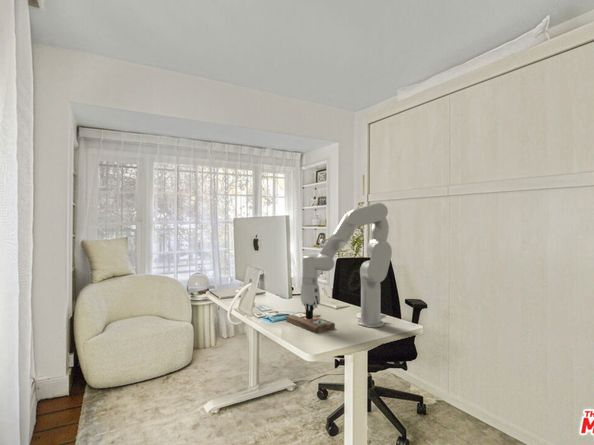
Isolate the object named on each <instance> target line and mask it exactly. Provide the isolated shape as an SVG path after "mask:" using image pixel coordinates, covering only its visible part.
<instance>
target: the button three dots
mask: <svg viewBox="0 0 594 445" xmlns="http://www.w3.org/2000/svg"><path fill="white" fill-rule="evenodd" d="M312 323H313V324H316V325H318V326H320V325H325V324H327V322H325V321H322V320H318V321H313V322H312Z"/></svg>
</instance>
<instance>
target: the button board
mask: <svg viewBox="0 0 594 445" xmlns="http://www.w3.org/2000/svg"><path fill="white" fill-rule="evenodd" d="M302 314H305V315H306V312H302ZM294 315H295V314H292V315H291V314H290V315H287V316H286V318H285V319H286V322H287V323H290V324H292V325H295V326H297V327H300V328H301V329H304V330H307V331H308V332H312V333H313V334H317V333H322V332H326V331H330V330H334V329H336V324H335V322H332V321H330V320H327V319H324V318H321V317H317V316H315V315H313V318H316V319H317V320H316V321H318V320H322V321H325V322H327V324H325V325H320V326H318V325H316V324H313V323H312V322H313V321H311V322H308V321H305V320H303V318H297V317H295V316H294ZM304 318H306V317H304Z"/></svg>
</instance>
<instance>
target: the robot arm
mask: <svg viewBox="0 0 594 445" xmlns="http://www.w3.org/2000/svg"><path fill="white" fill-rule="evenodd" d="M388 213H389V211H388V206H386V205H385V204H384V203H381V202H376V203H371V204H368V205H366V206H362V207H359V208H353V209H349V210H347V211H346V212H345V213H344V215H343V216H342V218H341V219H340V221H339V223H338V225H337V226H336V228H335V229H334V231H333V233H332V235H331V236H330V237H329V238H328V240H327V241H326V243H325V244H324V246H323V247H322V249H321V250H320V252H319V253H318V255H317V256H316V255H309V254H308V255H304V256H303V257H302V269H301V270H302V271H301V272H302V273H301V275H302V276H301V279H302V280H301V281H302V282H301V287H300V301H301V305H303V306H304V309H305V313H306V318H307V319H310V318H313V316H314V310H315V309H317V308H318V305H320V303H321V298H320V285H319V284H318V277H319V276H318V271H321V272H329V271H332V270H333V269H334V267H335V261H334V258H335V256H336V255H337V253H338V252H339V251H340V250H341V249H342V248H344V247H345V246H346V245H347V244H348V243H349V241H350V240H351V238H352V236H353V235H354V233H355V231H356V229H357V228H358V227H362V226H365V225H369V224H370V225H371V226H370V227H371V229H370V235H369V239H368V243H367V246H366V253H367V255H368V256H369V257H370V259H369V260H365V261H364V262H362V264H361V266H360V268H359V276H360V318H359V319H358V320H357V324H358V325H360V326H362V327H363V328H364V327H366V328H381V327H383V326H384V321H382V320H383V319H386V317H387V315H386V314H385V313H383V314H381V291H382V290H381V282H383V281H384V280H385V279H386V277H387V275H388V273H389V272H388V271H389V267H390V263H391V260H392V256H393V255H392V253H393V251H392V250H393V249H392V246H391V245H390V243H389V241H388V236H389V231H390V230H389V228H390V226H389V222H388V219H387V216H388Z"/></svg>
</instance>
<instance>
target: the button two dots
mask: <svg viewBox="0 0 594 445" xmlns="http://www.w3.org/2000/svg"><path fill="white" fill-rule="evenodd" d="M303 320H305V321H308V322H311V321H316V320H317V319H316V318H310V319H307V318H303Z"/></svg>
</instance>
